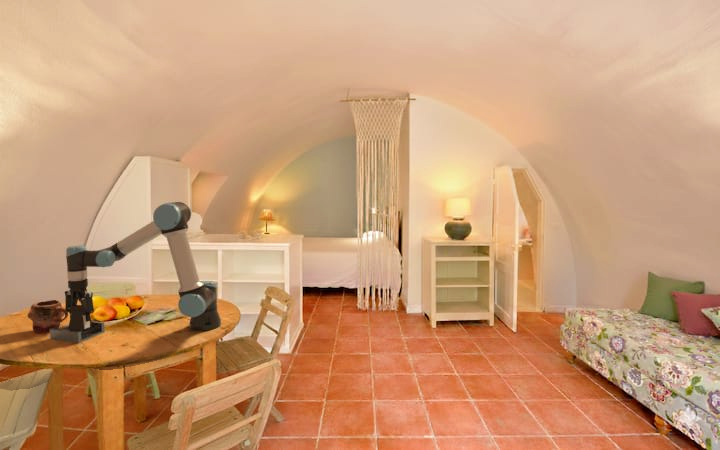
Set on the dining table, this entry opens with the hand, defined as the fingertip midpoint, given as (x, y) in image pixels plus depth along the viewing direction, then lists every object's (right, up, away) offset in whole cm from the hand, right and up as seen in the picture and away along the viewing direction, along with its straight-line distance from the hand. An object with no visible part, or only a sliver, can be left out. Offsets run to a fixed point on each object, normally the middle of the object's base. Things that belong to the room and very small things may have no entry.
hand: (80, 327), depth 190 cm
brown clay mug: (-20, -4, +7) cm, 21 cm away
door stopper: (0, -2, 0) cm, 2 cm away
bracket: (-2, -4, +1) cm, 5 cm away
